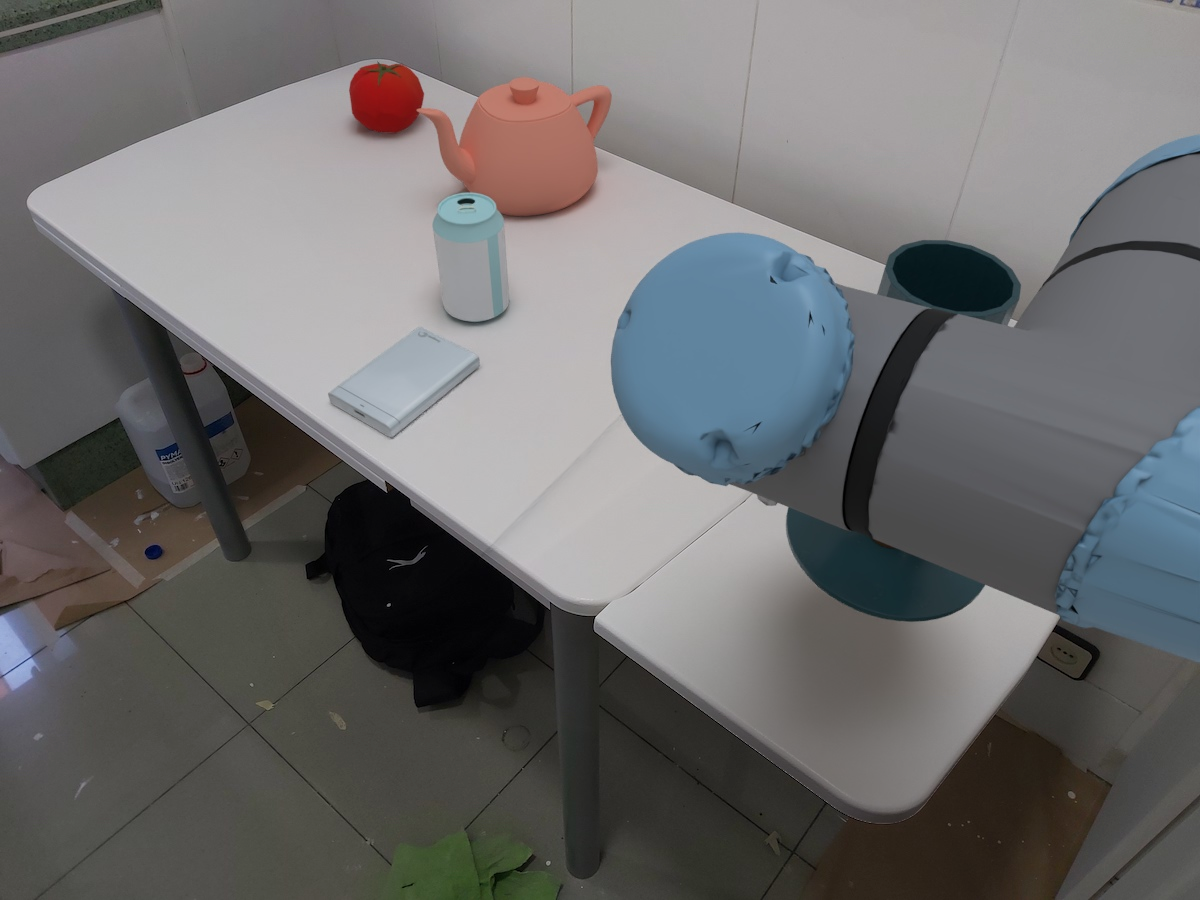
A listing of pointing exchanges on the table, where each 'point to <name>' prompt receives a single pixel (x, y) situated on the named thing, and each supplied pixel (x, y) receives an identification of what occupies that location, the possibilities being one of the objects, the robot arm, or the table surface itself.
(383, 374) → the hard drive
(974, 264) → the pot
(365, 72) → the tomato
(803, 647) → the table surface
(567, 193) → the teapot
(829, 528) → the lid
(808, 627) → the table surface
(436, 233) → the can
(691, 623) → the table surface
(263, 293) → the table surface
